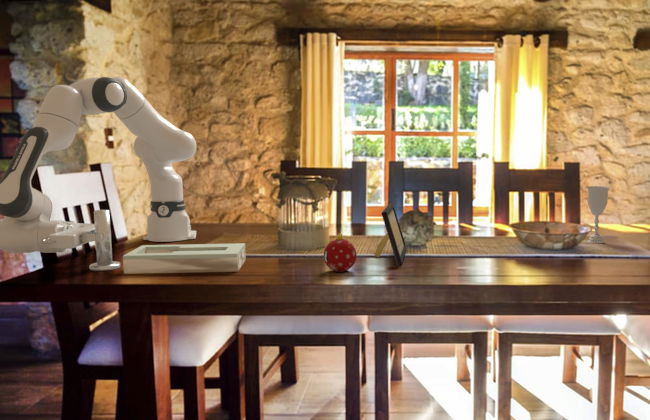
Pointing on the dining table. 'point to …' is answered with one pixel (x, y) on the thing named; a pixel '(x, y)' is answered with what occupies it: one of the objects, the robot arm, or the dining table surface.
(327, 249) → the christmas ornament
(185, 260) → the keyhole board
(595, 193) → the chalice
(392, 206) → the picture frame
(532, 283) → the dining table surface
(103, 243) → the keyhole peg
